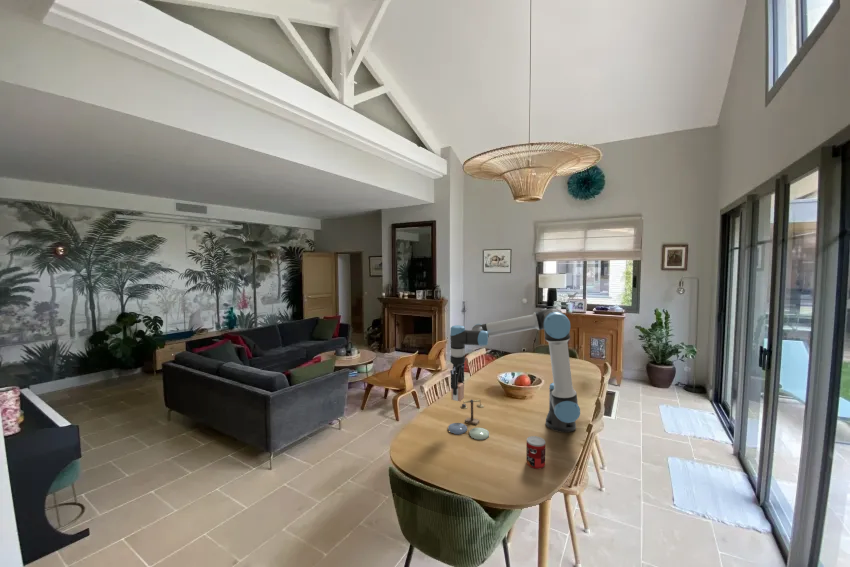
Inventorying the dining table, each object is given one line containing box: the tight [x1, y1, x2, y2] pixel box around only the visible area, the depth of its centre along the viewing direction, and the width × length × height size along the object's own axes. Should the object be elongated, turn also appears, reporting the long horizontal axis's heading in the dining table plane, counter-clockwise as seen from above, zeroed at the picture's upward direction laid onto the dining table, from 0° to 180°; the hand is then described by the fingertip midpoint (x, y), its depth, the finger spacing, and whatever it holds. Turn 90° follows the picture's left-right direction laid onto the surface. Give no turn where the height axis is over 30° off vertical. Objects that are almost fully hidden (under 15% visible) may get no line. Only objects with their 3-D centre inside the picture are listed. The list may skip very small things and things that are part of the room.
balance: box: [459, 399, 485, 426], centre depth 195 cm, size 14×4×14 cm, turn 62°
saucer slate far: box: [447, 422, 468, 435], centre depth 188 cm, size 10×10×1 cm
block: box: [450, 382, 465, 402], centre depth 186 cm, size 5×5×8 cm
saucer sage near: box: [468, 427, 490, 441], centre depth 182 cm, size 10×10×1 cm
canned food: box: [525, 435, 546, 470], centre depth 156 cm, size 8×8×11 cm
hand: (457, 398), depth 186 cm, fingers closed on block, 5 cm apart
